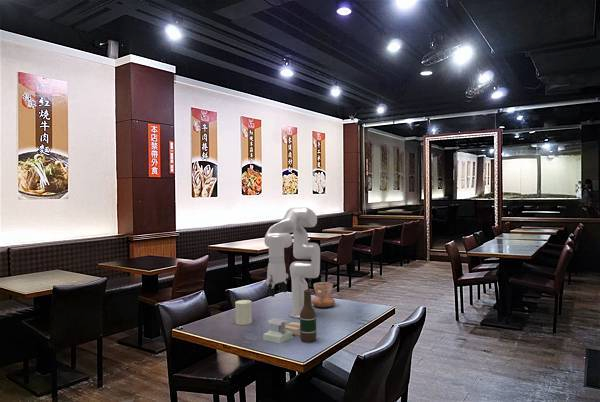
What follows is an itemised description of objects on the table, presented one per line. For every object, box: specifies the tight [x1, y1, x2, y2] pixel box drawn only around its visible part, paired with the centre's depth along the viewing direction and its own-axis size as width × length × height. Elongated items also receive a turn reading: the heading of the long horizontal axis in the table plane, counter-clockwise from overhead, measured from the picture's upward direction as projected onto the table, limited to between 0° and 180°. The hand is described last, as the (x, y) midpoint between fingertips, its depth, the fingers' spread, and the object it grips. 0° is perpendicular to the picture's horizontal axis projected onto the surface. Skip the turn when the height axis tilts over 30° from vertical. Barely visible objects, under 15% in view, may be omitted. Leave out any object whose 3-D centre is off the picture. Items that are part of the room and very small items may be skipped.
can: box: [234, 299, 253, 326], centre depth 240 cm, size 9×9×12 cm
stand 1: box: [262, 331, 293, 345], centre depth 210 cm, size 10×10×3 cm
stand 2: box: [285, 321, 300, 337], centre depth 222 cm, size 10×10×3 cm
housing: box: [267, 317, 288, 335], centre depth 210 cm, size 5×8×6 cm, turn 55°
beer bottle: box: [299, 289, 317, 343], centre depth 208 cm, size 8×8×24 cm
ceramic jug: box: [311, 281, 336, 309], centre depth 274 cm, size 18×14×14 cm
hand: (277, 294), depth 214 cm, fingers open, 9 cm apart
